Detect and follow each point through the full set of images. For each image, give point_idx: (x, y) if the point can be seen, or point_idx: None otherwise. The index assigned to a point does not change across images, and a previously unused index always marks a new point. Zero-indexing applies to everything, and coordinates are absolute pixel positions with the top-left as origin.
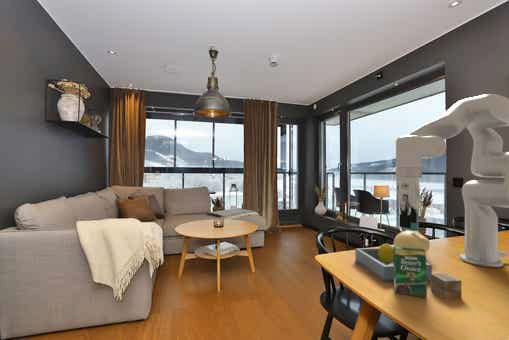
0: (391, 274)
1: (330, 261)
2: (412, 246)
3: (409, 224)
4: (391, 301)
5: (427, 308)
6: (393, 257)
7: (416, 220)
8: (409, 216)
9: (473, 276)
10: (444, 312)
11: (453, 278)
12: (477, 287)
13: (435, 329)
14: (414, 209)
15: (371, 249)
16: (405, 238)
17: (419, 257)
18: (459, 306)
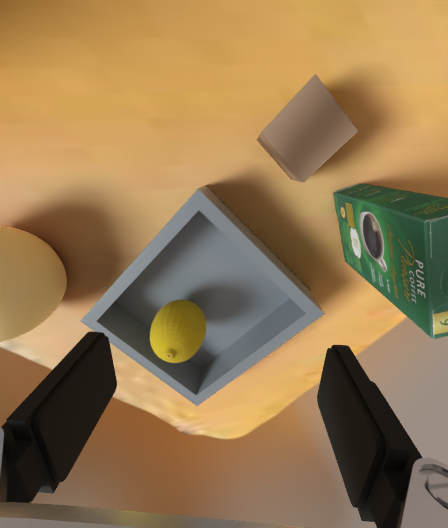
0: (301, 285)
1: (247, 413)
2: (35, 274)
3: (356, 370)
4: None
5: (425, 174)
6: (189, 306)
7: (82, 342)
8: (398, 445)
9: (61, 60)
10: (430, 133)
11: (308, 104)
12: (168, 45)
13: None
14: (6, 464)
15: (165, 371)
16: (11, 311)
17: None
18: (368, 97)
